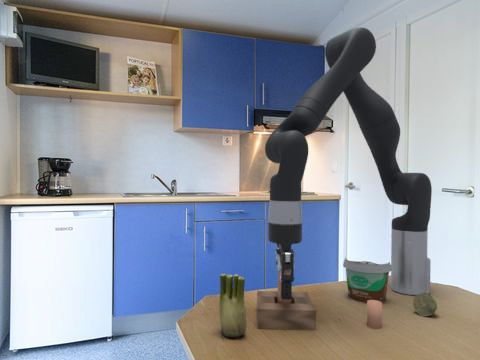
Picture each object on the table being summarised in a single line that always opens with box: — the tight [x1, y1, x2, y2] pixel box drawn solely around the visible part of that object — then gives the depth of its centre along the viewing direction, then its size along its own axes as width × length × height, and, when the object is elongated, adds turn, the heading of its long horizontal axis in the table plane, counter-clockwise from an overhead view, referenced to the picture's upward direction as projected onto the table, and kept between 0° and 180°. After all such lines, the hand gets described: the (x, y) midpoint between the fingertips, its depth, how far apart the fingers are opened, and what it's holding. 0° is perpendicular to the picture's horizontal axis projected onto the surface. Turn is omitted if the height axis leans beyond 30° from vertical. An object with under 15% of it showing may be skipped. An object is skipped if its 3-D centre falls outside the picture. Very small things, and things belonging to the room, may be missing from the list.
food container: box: [342, 257, 392, 304], centre depth 92 cm, size 12×6×10 cm, turn 62°
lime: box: [412, 293, 438, 317], centre depth 83 cm, size 4×5×5 cm
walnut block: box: [256, 290, 317, 331], centre depth 80 cm, size 12×12×4 cm
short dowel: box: [366, 300, 383, 329], centre depth 76 cm, size 3×3×5 cm
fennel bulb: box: [219, 273, 248, 338], centre depth 71 cm, size 6×5×12 cm
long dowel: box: [277, 272, 291, 303], centre depth 80 cm, size 3×3×10 cm
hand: (284, 292), depth 80 cm, fingers open, 8 cm apart
